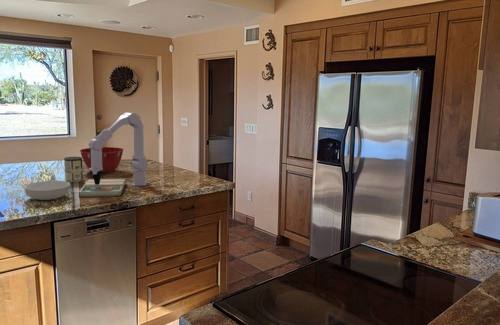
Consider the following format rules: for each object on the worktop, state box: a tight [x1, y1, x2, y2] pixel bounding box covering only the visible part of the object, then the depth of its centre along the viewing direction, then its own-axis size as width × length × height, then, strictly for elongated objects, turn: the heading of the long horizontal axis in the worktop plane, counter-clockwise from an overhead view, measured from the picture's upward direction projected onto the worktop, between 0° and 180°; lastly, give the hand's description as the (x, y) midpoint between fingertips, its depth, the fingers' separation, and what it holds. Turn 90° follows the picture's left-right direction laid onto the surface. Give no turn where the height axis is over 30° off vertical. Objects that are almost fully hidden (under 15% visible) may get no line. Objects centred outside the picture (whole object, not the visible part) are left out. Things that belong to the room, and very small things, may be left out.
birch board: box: [82, 178, 126, 189], centre depth 226 cm, size 16×21×3 cm
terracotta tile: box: [102, 187, 113, 191], centre depth 213 cm, size 5×5×2 cm
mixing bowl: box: [79, 146, 125, 174], centre depth 267 cm, size 28×28×15 cm
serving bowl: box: [23, 180, 71, 201], centre depth 199 cm, size 21×21×7 cm
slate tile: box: [90, 187, 101, 191], centre depth 212 cm, size 5×5×2 cm
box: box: [78, 186, 124, 198], centre depth 212 cm, size 13×21×3 cm, turn 103°
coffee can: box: [63, 156, 84, 183], centre depth 239 cm, size 10×10×14 cm
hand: (97, 184), depth 216 cm, fingers closed
